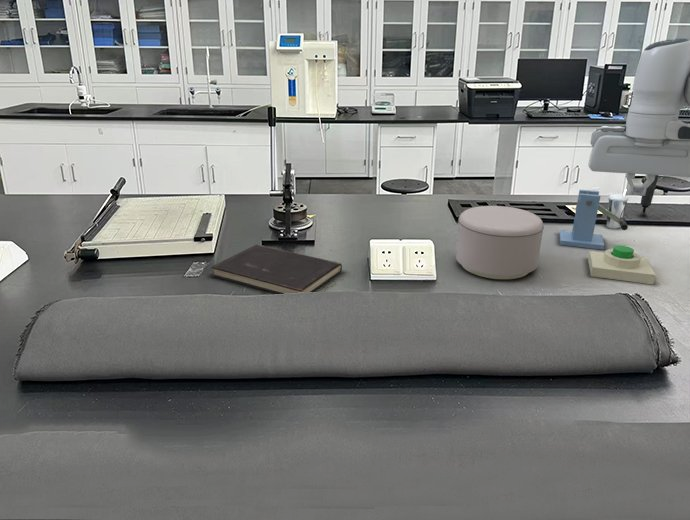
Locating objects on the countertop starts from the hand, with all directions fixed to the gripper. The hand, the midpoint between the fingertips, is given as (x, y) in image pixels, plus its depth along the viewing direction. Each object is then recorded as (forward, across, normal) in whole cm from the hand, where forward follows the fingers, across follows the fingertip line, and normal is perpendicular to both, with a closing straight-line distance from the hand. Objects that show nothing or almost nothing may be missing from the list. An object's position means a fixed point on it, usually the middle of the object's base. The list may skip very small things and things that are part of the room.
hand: (636, 194), depth 111 cm
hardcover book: (+16, -71, -28) cm, 78 cm away
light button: (+14, 0, -1) cm, 14 cm away
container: (+17, -27, -7) cm, 32 cm away
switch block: (+17, 0, -1) cm, 17 cm away
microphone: (+18, +11, +45) cm, 50 cm away
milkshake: (+18, +2, +32) cm, 37 cm away
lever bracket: (+17, -8, +16) cm, 25 cm away
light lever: (+10, -4, +16) cm, 19 cm away
